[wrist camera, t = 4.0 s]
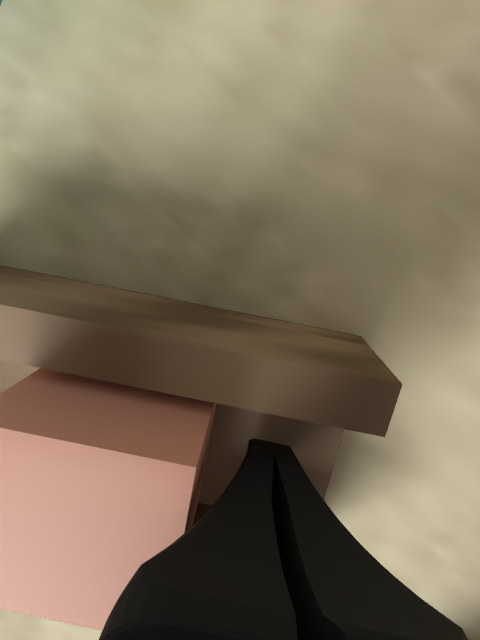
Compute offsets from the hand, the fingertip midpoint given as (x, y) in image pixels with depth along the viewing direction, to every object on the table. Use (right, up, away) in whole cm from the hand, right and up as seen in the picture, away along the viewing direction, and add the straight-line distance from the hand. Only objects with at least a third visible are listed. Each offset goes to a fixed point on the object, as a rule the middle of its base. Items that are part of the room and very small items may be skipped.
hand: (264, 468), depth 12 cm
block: (-4, +1, +1) cm, 5 cm away
